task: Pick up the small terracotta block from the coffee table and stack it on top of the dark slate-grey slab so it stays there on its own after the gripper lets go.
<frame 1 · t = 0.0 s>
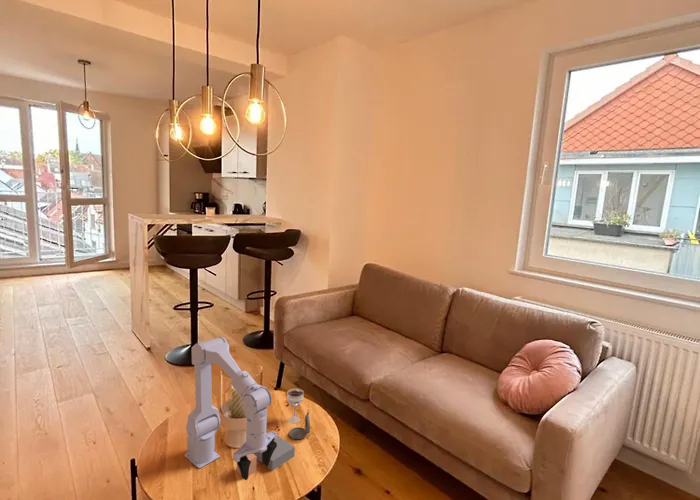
hand: (255, 471, 117), 10 cm above the table, tool pointing down, fingers open, 7 cm apart
wineglass: (294, 420, 161), on the table
slate slab: (274, 457, 139), on the table
pocket watch: (300, 435, 151), on the table
terracotta block: (246, 471, 131), on the table
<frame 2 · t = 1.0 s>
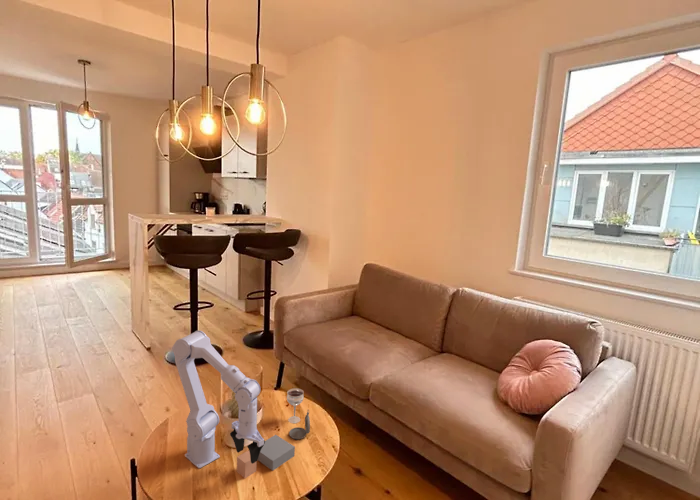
hand: (247, 456, 130), 6 cm above the table, tool pointing down, fingers open, 7 cm apart
nothing on the table moved.
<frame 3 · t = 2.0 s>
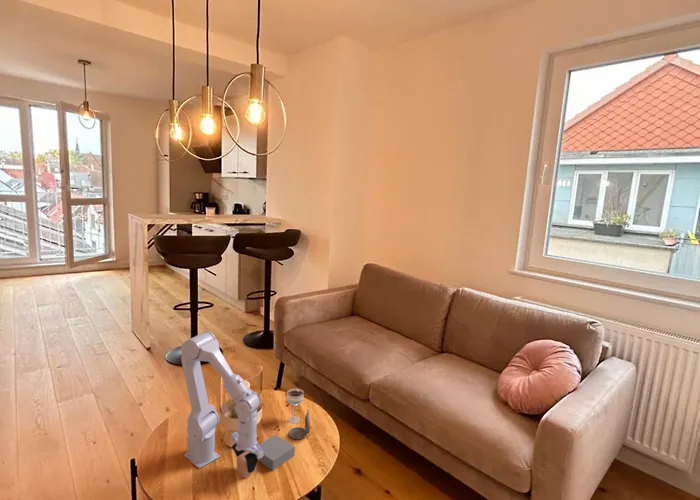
hand: (246, 467, 130), 1 cm above the table, tool pointing down, fingers closed on terracotta block, 4 cm apart
terracotta block: (246, 471, 131), on the table, touching gripper
everything else where it was.
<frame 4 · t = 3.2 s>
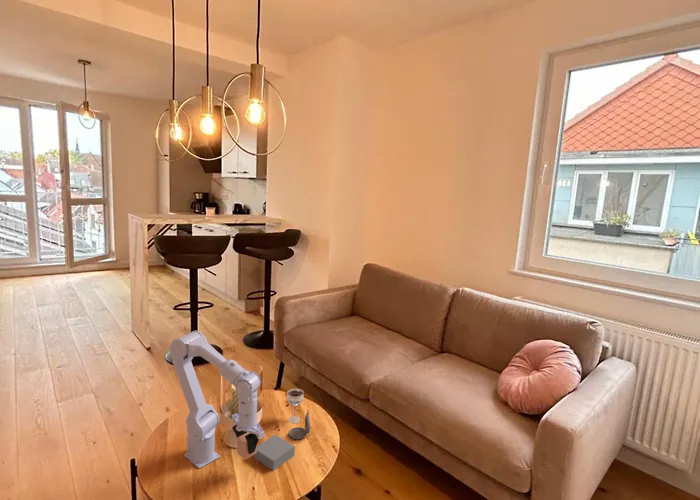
hand: (246, 448, 129), 8 cm above the table, tool pointing down, fingers closed on terracotta block, 4 cm apart
terracotta block: (246, 452, 129), point 7 cm above the table, touching gripper
everything else where it was.
when the fingers open (6 cm above the table, at t = 4.8 s): terracotta block drops 1 cm, resting on slate slab.
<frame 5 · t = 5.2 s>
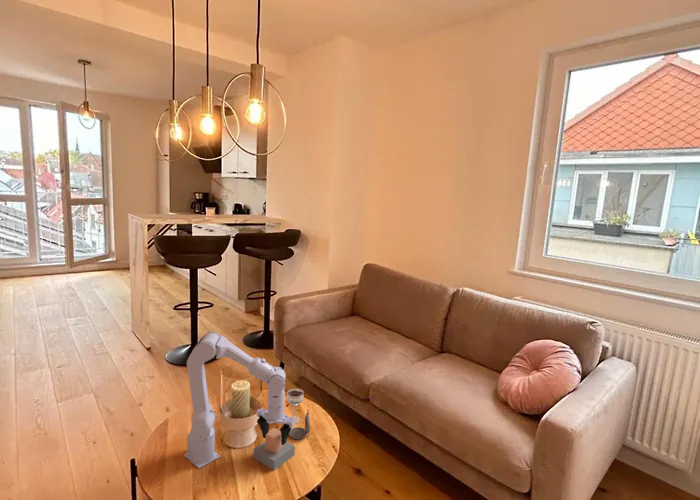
hand: (274, 439, 137), 6 cm above the table, tool pointing down, fingers open, 7 cm apart
slate slab: (274, 457, 139), on the table, touching terracotta block
terracotta block: (274, 447, 138), point 4 cm above the table, touching slate slab
everything else where it was.
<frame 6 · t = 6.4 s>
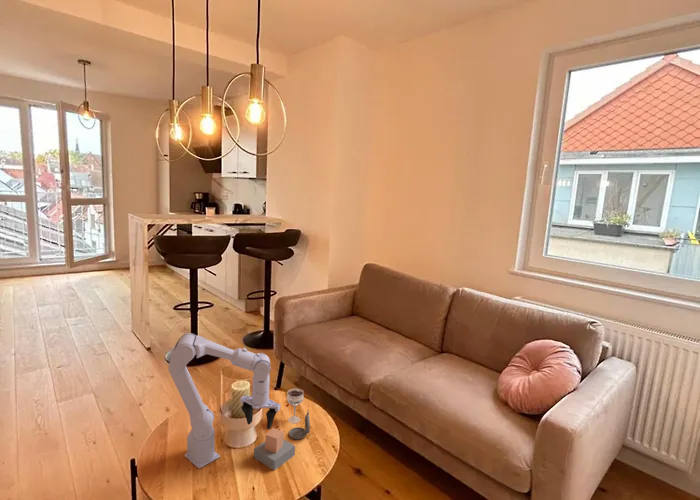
hand: (259, 425, 139), 10 cm above the table, tool pointing down, fingers open, 7 cm apart
slate slab: (274, 457, 139), on the table
terracotta block: (274, 447, 138), point 4 cm above the table
everything else where it was.
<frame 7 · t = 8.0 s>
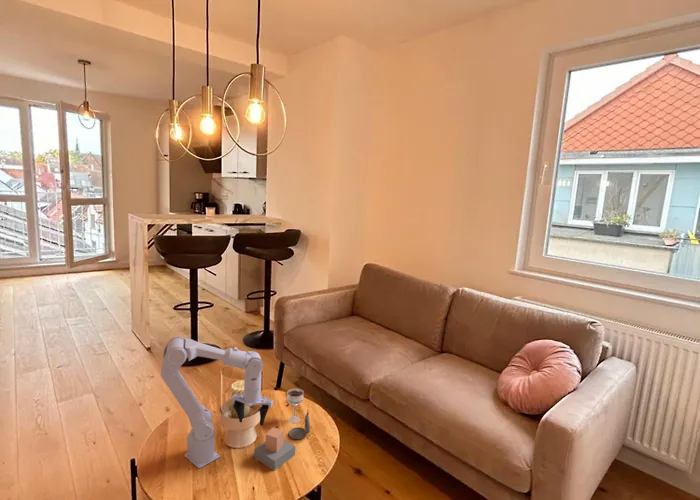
hand: (251, 422, 140), 10 cm above the table, tool pointing down, fingers open, 7 cm apart
nothing on the table moved.
at the end: terracotta block 0.2 cm off-centre on the slate slab, point 4.0 cm above the slate slab's base; terracotta block tilted 1°; the gripper is holding nothing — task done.
